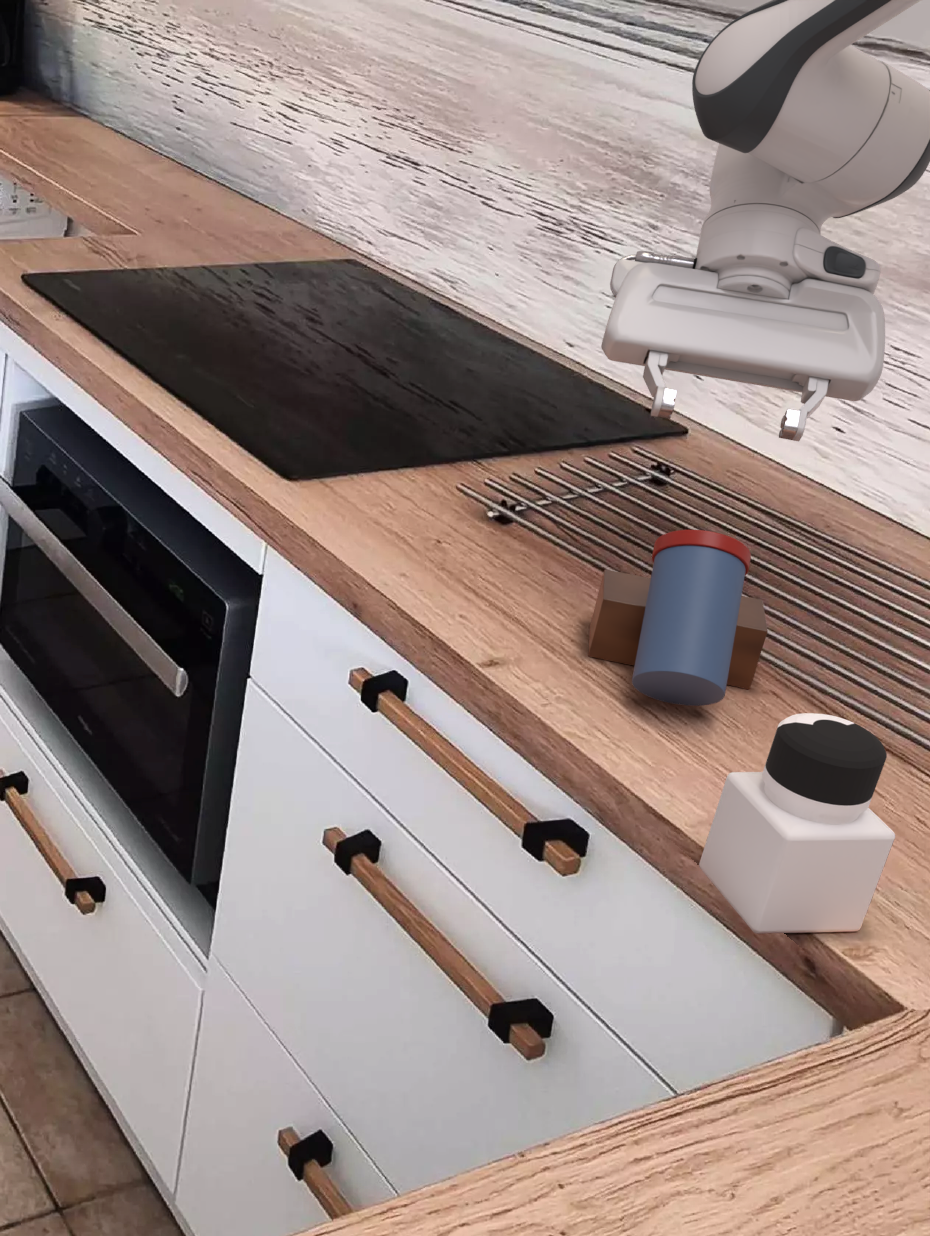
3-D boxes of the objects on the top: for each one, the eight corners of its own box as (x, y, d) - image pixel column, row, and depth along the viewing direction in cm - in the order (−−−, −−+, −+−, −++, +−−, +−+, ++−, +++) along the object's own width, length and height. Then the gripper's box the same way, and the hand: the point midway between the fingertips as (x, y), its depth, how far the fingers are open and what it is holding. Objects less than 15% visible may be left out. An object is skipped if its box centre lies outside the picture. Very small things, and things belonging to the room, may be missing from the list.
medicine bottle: (862, 933, 104) (927, 762, 98) (753, 936, 102) (812, 762, 97) (798, 865, 110) (856, 700, 104) (695, 867, 109) (748, 699, 103)
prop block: (745, 656, 137) (763, 599, 134) (749, 689, 132) (768, 631, 129) (589, 625, 139) (604, 568, 137) (588, 656, 134) (603, 598, 132)
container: (712, 668, 135) (756, 518, 129) (719, 739, 124) (768, 579, 118) (622, 650, 136) (662, 501, 131) (621, 719, 125) (665, 560, 120)
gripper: (623, 225, 135) (591, 381, 131) (903, 267, 130) (878, 430, 126) (611, 269, 141) (579, 419, 137) (878, 310, 136) (853, 467, 132)
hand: (725, 425), depth 131 cm, fingers open, 8 cm apart
